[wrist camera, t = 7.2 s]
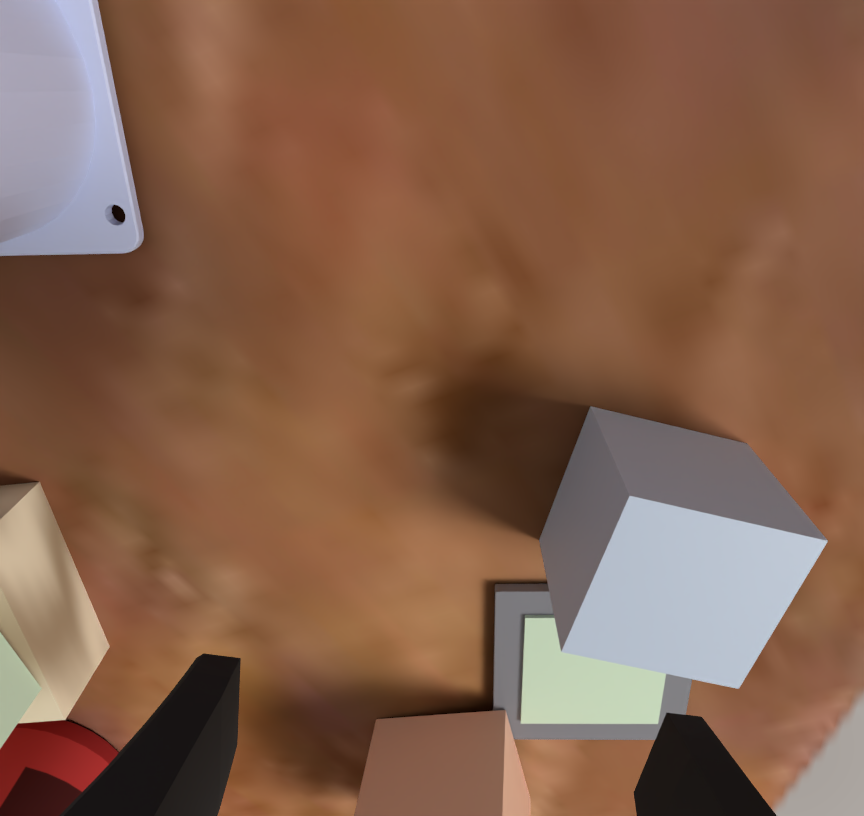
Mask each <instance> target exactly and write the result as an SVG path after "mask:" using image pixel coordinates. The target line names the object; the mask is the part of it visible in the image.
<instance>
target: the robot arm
mask: <svg viewBox="0 0 864 816" xmlns="http://www.w3.org/2000/svg"><path fill="white" fill-rule="evenodd" d="M113 205H118V206H119V207H121V208H122V209H123V211H124V213H125V221H124V222H123V223H122V222H119V221H117V220H116V219H115V218H114V216H113V214H112V207H113ZM143 239H144V231H143V226H142V221H141V216H140V211H139V206H138V201H137V196H136V191H135V186H134V181H133V176H132V171H131V166H130V161H129V156H128V151H127V146H126V141H125V136H124V131H123V126H122V121H121V116H120V111H119V106H118V101H117V96H116V91H115V86H114V81H113V76H112V71H111V66H110V61H109V56H108V51H107V46H106V41H105V36H104V31H103V26H102V21H101V16H100V10H99V5H98V0H0V256H18V255H67V254H117V253H128V252H132V251H134V250H135V249H137V248H138V247H139V246H140V245H141V244H142V241H143ZM239 683H240V658H234V657H226V656H218V655H210V654H202V655H201V656H199V657H197V658H196V660H195V661H194V662H193V664H192V665H191V666H190V668H189V669H188V671H187V672H186V673H185V675H184V676H183V677H182V678H181V680H180V681H179V682H178V684H177V685H176V686H175V688H174V689H173V690H172V691H171V693H170V694H169V695H168V696H167V698H166V699H165V700H164V701H163V703H162V704H161V705H160V706H159V707H158V709H157V710H156V711H155V712H154V713H153V715H152V716H151V717H150V718H149V719H148V721H147V722H146V723H145V724H144V725H143V726H142V728H141V729H140V730H139V731H138V732H137V733H136V734H135V735H134V737H133V738H132V739H131V740H130V741H129V742H128V743H127V744H126V746H125V747H124V748H123V749H122V750H121V751H120V752H119V753H118V755H117V756H116V757H115V758H114V759H113V760H112V761H111V762H110V764H109V765H108V766H107V767H106V768H105V769H104V770H103V771H102V772H101V773H100V774H99V775H98V776H97V777H96V778H95V779H94V781H93V782H92V783H91V784H90V785H89V786H88V787H87V788H86V789H85V790H84V791H83V792H82V793H81V794H80V795H79V796H78V797H77V798H76V799H75V800H74V801H73V802H72V803H71V804H70V805H69V806H68V807H67V808H66V809H65V810H64V811H63V812H62V813H61V814H60V815H59V816H217V815H218V812H219V809H220V806H221V802H222V798H223V795H224V791H225V788H226V784H227V781H228V777H229V773H230V769H231V766H232V762H233V758H234V754H235V751H236V747H237V736H238V710H239ZM634 798H635V805H636V812H637V816H776V814H775V813H774V812H773V811H772V809H771V808H770V807H769V805H768V804H767V803H766V801H765V800H764V799H763V798H762V796H761V795H760V794H759V792H758V791H757V790H756V788H755V787H754V786H753V784H752V783H751V782H750V780H749V779H748V778H747V776H746V775H745V774H744V772H743V771H742V770H741V768H740V767H739V766H738V764H737V763H736V762H735V760H734V759H733V758H732V756H731V755H730V754H729V752H728V751H727V750H726V748H725V747H724V746H723V744H722V743H721V742H720V740H719V739H718V738H717V736H716V735H715V734H714V732H713V731H712V730H711V728H710V727H709V726H708V724H707V723H706V722H705V721H704V719H703V718H702V717H698V716H690V715H683V714H675V713H666V715H665V717H664V720H663V722H662V725H661V727H660V730H659V732H658V735H657V737H656V739H655V742H654V744H653V747H652V749H651V752H650V754H649V757H648V759H647V762H646V764H645V766H644V769H643V771H642V774H641V776H640V779H639V781H638V784H637V786H636V788H635V791H634Z"/></svg>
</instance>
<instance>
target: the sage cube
mask: <svg viewBox="0 0 864 816" xmlns="http://www.w3.org/2000/svg"><path fill="white" fill-rule="evenodd" d="M41 689H42V688H41V687H40V685H39V684H38V683H37V681H36V680H35V679H34V677H33V676H32V674H31V673H30V672H29V670H28V669H27V668H26V666H25V665H24V664H23V662H22V661H21V660H20V658H19V657H18V655H17V654H16V653H15V651H14V650H13V649H12V647H11V646H10V645H9V643H8V642H7V641H6V639H5V638H4V637H3V635H2V634H1V632H0V749H1V747H2V746H3V744H4V743H5V741H6V740H7V738H8V737H9V735H10V734H11V733H12V731H13V730H14V728H15V727H16V725H17V724H18V722H19V721H20V719H21V718H22V716H23V715H24V714H25V712H26V711H27V709H28V708H29V706H30V705H31V703H32V702H33V700H34V699H35V698H36V696H37V695H38V693H39V692H40V690H41Z"/></svg>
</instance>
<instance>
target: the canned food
mask: <svg viewBox="0 0 864 816" xmlns="http://www.w3.org/2000/svg"><path fill="white" fill-rule="evenodd" d="M118 753H119V752H118V751H116V750H115V749H114V748H113V747H112V746H111V745H110V744H109V743H108V742H107V741H106V740H104V739H103V738H101V737H100V736H98V735H97V734H95V733H94V732H92V731H90V730H88V729H86V728H84V727H82V726H80V725H77V724H75V723H72V722H69V721H66V720H57V721H44V722H31V723H18V724H17V725H16V727H15V728H14V730H13V731H12V733H11V734H10V735H9V737H8V738H7V740H6V741H5V743H4V744H3V746H2V747H1V749H0V816H59V815H60V814H61V813H62V812H63V811H64V810H65V809H66V808H67V807H68V806H69V805H70V804H71V803H72V802H73V801H74V800H75V799H76V798H77V797H78V796H79V795H80V794H81V793H82V792H83V791H84V790H85V789H86V788H87V787H88V786H89V785H90V784H91V783H92V782H93V781H94V779H95V778H96V777H97V776H98V775H99V774H100V773H101V772H102V771H103V770H104V769H105V768H106V767H107V766H108V765H109V764H110V762H111V761H112V760H113V759H114V758H115V757H116V756H117V755H118Z"/></svg>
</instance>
